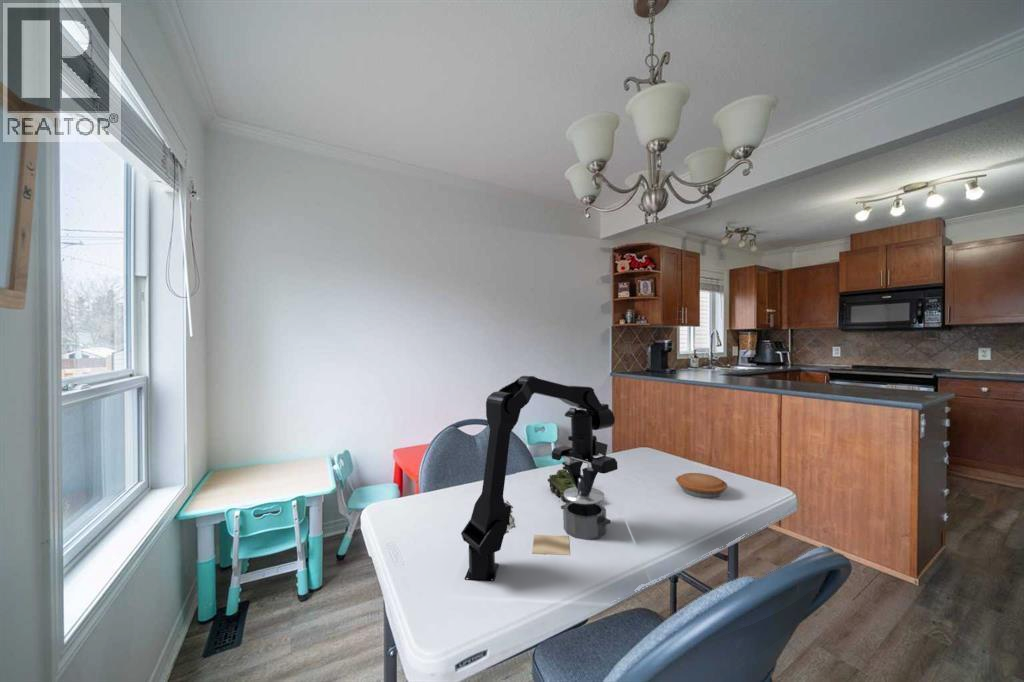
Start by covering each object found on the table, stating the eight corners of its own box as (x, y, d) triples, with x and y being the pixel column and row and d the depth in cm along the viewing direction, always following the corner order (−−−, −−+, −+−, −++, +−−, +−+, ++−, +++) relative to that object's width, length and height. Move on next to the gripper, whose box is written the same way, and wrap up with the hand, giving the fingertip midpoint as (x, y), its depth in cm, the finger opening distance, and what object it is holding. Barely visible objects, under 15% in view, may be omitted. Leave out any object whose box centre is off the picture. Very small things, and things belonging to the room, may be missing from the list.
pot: (620, 534, 97) (619, 511, 97) (593, 549, 90) (592, 524, 90) (578, 516, 108) (577, 495, 108) (551, 528, 101) (551, 506, 101)
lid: (607, 508, 93) (606, 484, 93) (564, 507, 94) (563, 483, 94) (601, 492, 104) (601, 470, 104) (563, 491, 105) (562, 470, 105)
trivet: (570, 557, 86) (570, 554, 86) (532, 555, 87) (532, 553, 87) (568, 538, 95) (568, 535, 95) (534, 537, 96) (534, 534, 96)
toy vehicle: (570, 485, 134) (569, 457, 134) (600, 506, 115) (599, 474, 115) (546, 489, 131) (545, 461, 131) (573, 511, 112) (572, 478, 112)
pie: (669, 484, 132) (668, 470, 132) (713, 484, 131) (712, 469, 131) (687, 501, 116) (687, 486, 117) (737, 501, 116) (737, 485, 116)
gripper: (629, 433, 97) (631, 492, 97) (576, 423, 112) (577, 475, 111) (602, 440, 90) (604, 504, 90) (549, 429, 105) (551, 484, 104)
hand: (583, 490), depth 99 cm, fingers closed on lid, 3 cm apart
